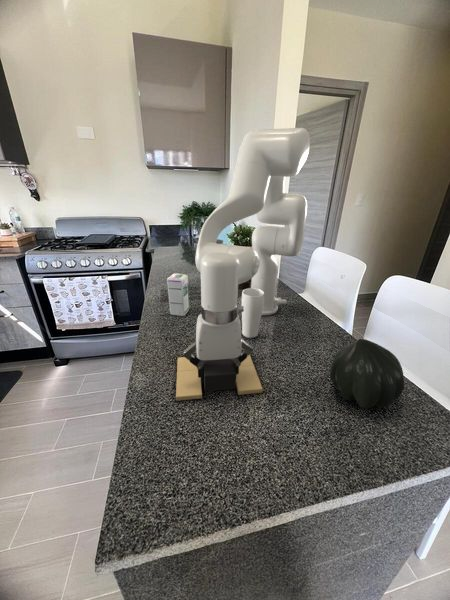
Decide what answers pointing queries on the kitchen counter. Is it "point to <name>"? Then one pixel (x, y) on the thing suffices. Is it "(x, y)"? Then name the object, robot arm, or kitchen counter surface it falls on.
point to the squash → (367, 374)
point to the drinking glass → (251, 311)
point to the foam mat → (191, 383)
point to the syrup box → (178, 294)
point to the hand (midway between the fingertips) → (218, 376)
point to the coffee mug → (245, 284)
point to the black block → (219, 375)
